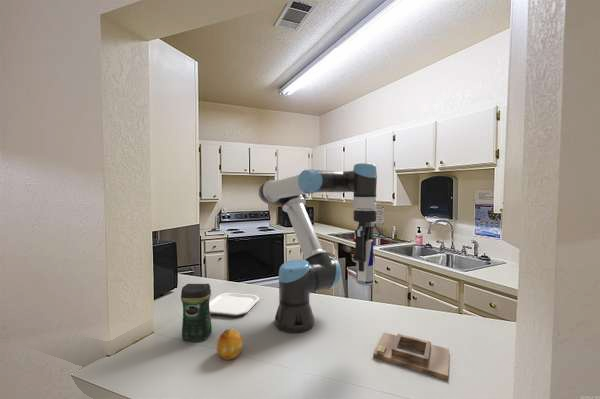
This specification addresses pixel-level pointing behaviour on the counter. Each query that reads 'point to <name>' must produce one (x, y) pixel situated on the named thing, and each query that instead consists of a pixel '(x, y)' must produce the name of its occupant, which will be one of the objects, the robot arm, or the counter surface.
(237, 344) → the fruit
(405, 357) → the socket plate
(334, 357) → the counter surface
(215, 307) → the plate
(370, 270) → the beverage can
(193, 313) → the coffee jar
